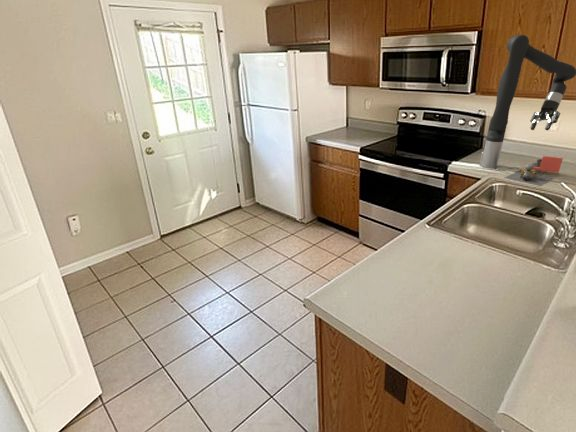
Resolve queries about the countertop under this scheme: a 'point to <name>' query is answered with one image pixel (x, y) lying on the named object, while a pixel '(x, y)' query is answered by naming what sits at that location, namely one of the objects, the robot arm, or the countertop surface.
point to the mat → (536, 180)
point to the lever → (547, 164)
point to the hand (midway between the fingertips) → (539, 129)
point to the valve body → (527, 174)
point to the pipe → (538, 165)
